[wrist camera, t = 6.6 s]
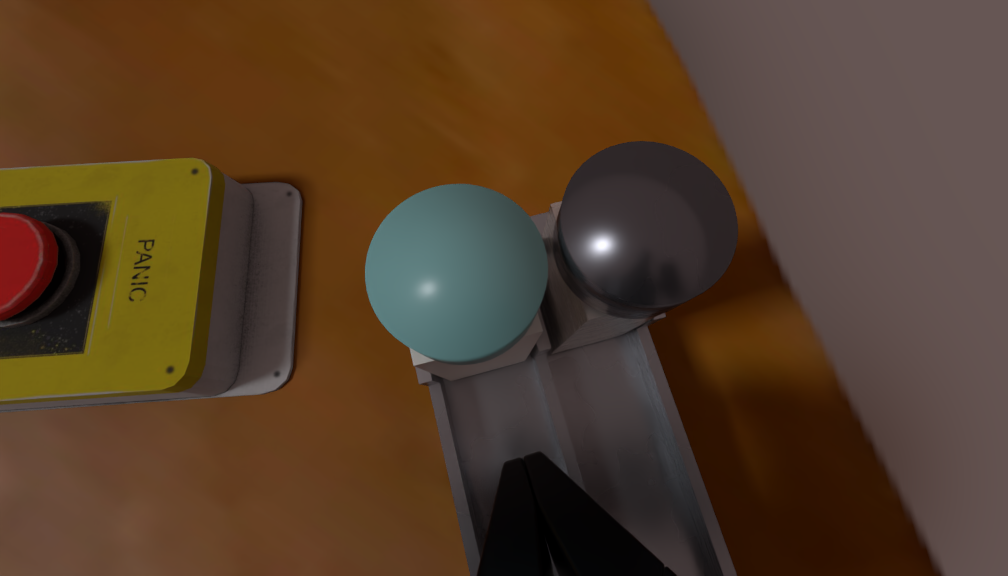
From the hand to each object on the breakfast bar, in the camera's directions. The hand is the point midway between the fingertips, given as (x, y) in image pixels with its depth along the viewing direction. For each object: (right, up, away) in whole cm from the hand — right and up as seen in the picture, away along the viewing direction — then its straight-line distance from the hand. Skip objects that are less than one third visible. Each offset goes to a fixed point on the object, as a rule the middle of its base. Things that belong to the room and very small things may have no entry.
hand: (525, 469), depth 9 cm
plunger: (-1, +2, +7) cm, 8 cm away
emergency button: (-17, +3, +10) cm, 20 cm away
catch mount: (+2, -2, +8) cm, 8 cm away
